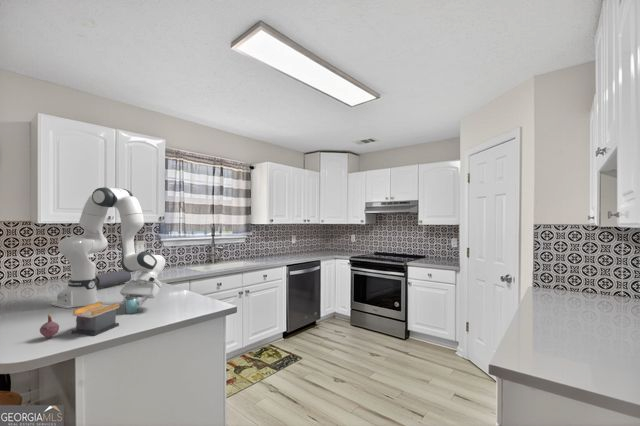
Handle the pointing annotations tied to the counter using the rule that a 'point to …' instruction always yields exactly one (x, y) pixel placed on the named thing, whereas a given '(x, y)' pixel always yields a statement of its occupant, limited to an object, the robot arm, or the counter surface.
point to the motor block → (95, 318)
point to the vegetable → (49, 328)
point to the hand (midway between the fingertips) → (131, 303)
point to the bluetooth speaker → (112, 279)
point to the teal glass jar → (131, 305)
